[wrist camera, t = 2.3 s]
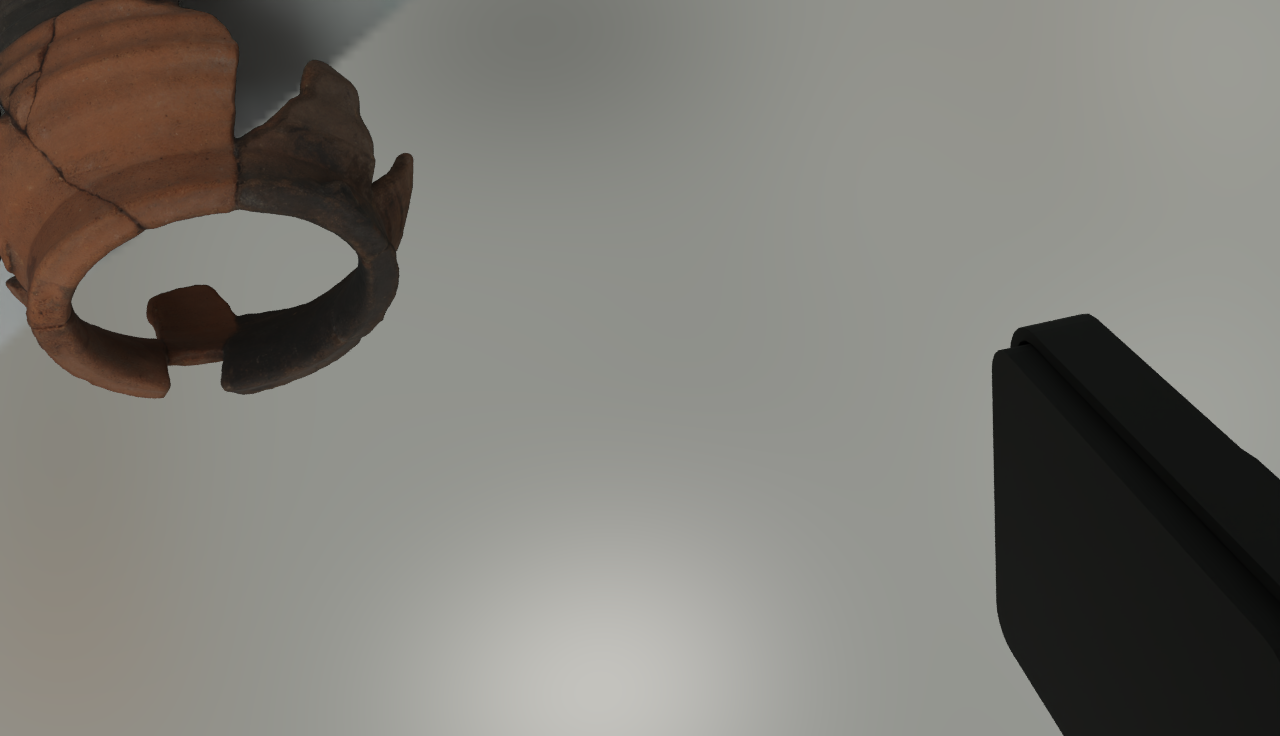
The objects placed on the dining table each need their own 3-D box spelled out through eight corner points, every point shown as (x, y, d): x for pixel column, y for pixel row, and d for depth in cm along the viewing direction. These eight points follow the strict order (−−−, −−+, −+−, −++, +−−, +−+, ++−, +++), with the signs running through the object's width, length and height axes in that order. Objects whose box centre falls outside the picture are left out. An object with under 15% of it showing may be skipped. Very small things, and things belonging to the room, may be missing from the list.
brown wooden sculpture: (374, -133, 27) (465, 135, 23) (348, 165, 34) (412, 407, 30) (-278, -156, 22) (-310, 174, 18) (-146, 194, 30) (-148, 483, 26)
